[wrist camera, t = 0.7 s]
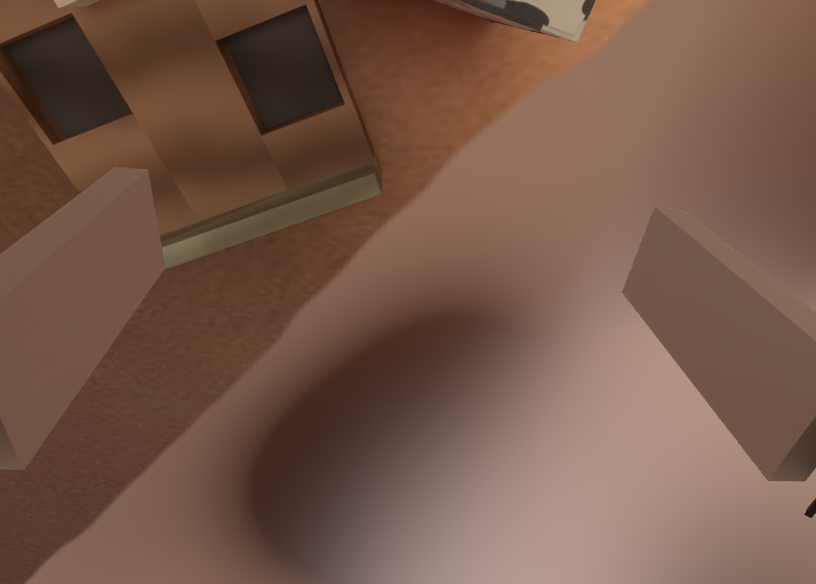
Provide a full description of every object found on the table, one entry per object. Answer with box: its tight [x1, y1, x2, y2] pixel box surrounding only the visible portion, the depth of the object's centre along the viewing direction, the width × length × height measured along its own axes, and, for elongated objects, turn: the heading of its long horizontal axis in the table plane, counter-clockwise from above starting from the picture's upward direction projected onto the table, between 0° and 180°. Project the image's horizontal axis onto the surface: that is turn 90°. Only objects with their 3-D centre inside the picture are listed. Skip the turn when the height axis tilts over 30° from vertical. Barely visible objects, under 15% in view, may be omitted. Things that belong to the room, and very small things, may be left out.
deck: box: [0, 0, 382, 270], centre depth 30 cm, size 24×20×5 cm
